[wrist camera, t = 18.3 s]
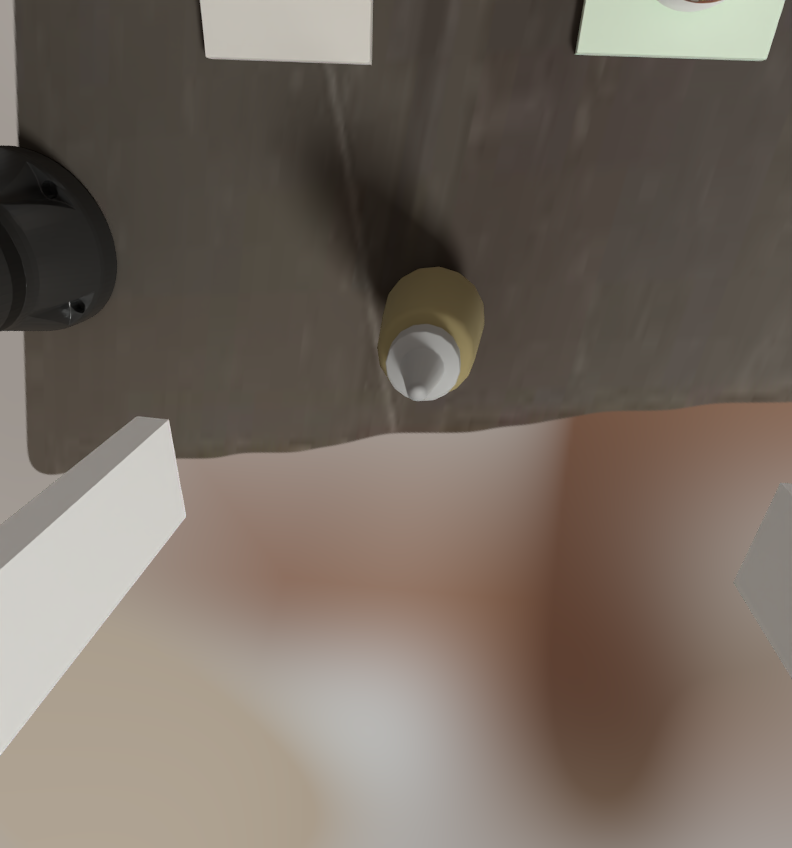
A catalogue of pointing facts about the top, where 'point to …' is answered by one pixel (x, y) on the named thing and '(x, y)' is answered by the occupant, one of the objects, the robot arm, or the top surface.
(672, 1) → the milk bottle
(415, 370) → the squeeze bottle
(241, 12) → the tile
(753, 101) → the top surface
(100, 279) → the robot arm
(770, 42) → the tile
